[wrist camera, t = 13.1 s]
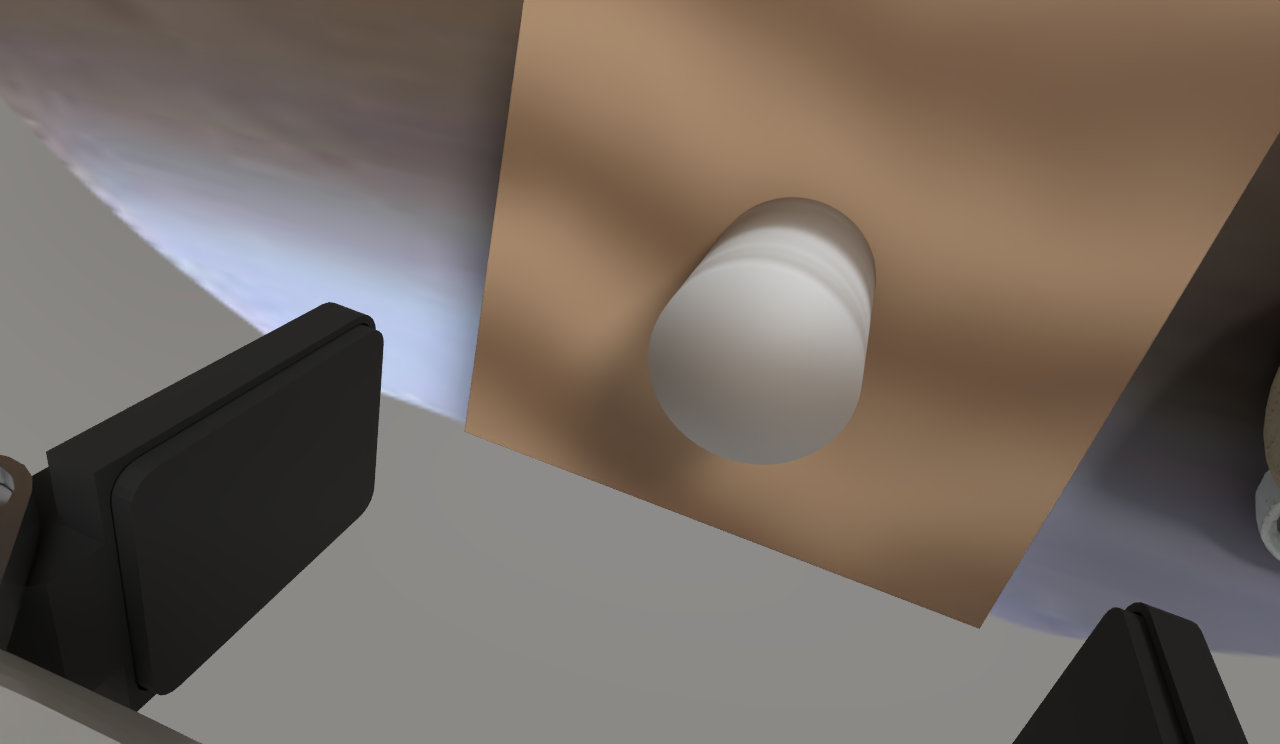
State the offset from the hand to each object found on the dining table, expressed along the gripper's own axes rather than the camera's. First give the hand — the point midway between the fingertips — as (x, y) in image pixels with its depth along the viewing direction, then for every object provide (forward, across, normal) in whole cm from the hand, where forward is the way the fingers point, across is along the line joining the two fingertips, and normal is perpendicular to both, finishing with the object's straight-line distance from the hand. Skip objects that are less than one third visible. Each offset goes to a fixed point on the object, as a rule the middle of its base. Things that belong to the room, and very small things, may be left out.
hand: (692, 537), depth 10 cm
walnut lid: (+12, 0, 0) cm, 12 cm away
